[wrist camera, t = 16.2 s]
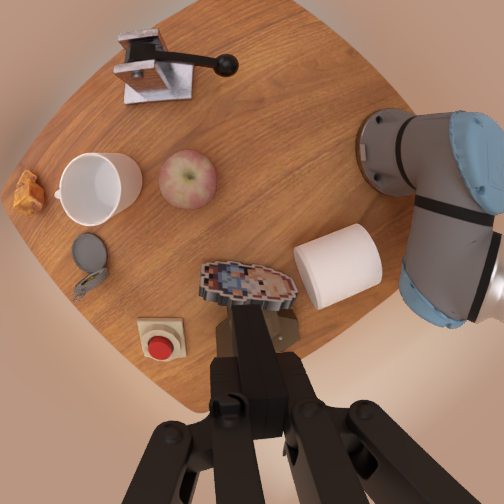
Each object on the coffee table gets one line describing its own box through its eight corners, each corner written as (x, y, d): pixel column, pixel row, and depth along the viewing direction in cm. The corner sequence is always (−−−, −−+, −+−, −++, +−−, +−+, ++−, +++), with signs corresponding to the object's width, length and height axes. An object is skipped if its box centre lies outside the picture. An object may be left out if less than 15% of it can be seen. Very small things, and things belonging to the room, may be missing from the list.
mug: (72, 162, 35) (35, 165, 25) (142, 149, 37) (118, 146, 26) (78, 215, 38) (44, 232, 28) (146, 206, 39) (125, 222, 29)
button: (170, 335, 44) (169, 342, 42) (173, 354, 45) (172, 360, 44) (147, 335, 43) (146, 341, 42) (151, 353, 45) (150, 359, 43)
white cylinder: (316, 288, 34) (386, 258, 34) (289, 233, 40) (351, 210, 40) (320, 327, 43) (375, 302, 43) (298, 279, 50) (349, 259, 50)
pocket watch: (82, 224, 39) (52, 243, 29) (123, 251, 41) (101, 277, 32) (66, 264, 40) (38, 290, 31) (105, 290, 43) (83, 321, 33)
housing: (182, 317, 46) (180, 327, 43) (187, 353, 49) (186, 363, 46) (138, 317, 45) (134, 326, 42) (145, 352, 48) (142, 363, 45)
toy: (200, 265, 43) (197, 305, 34) (202, 257, 43) (199, 296, 34) (285, 276, 46) (301, 315, 37) (288, 268, 45) (304, 307, 37)
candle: (248, 363, 51) (259, 424, 37) (194, 323, 46) (189, 385, 32) (303, 319, 49) (332, 375, 35) (252, 271, 45) (270, 322, 31)
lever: (230, 60, 30) (244, 53, 28) (229, 81, 31) (243, 75, 29) (125, 47, 22) (132, 36, 20) (122, 71, 23) (129, 62, 21)
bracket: (194, 60, 33) (186, 19, 20) (191, 100, 35) (181, 72, 22) (129, 66, 32) (96, 33, 19) (126, 105, 34) (88, 85, 21)
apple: (226, 190, 40) (228, 197, 33) (179, 213, 40) (172, 226, 33) (202, 142, 37) (199, 137, 30) (155, 166, 38) (142, 168, 30)
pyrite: (29, 188, 36) (45, 176, 36) (28, 218, 34) (44, 206, 34) (12, 175, 31) (28, 161, 32) (9, 206, 29) (25, 192, 30)
